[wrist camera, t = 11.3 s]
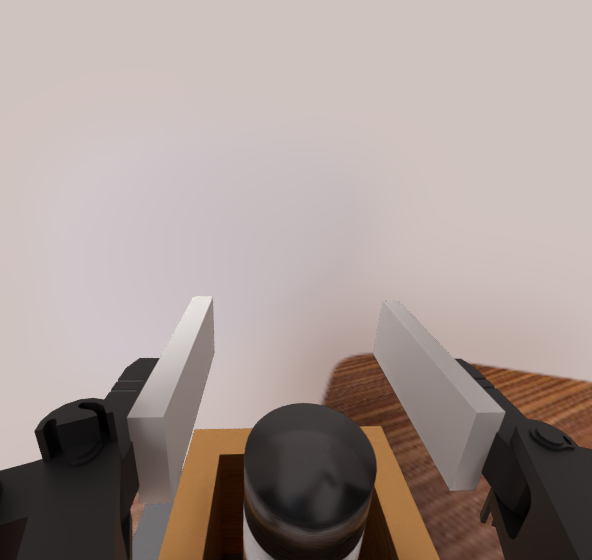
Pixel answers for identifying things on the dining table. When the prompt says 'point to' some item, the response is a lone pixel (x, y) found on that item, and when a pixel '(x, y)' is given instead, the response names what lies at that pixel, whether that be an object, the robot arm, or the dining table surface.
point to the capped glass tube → (306, 485)
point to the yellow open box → (230, 507)
